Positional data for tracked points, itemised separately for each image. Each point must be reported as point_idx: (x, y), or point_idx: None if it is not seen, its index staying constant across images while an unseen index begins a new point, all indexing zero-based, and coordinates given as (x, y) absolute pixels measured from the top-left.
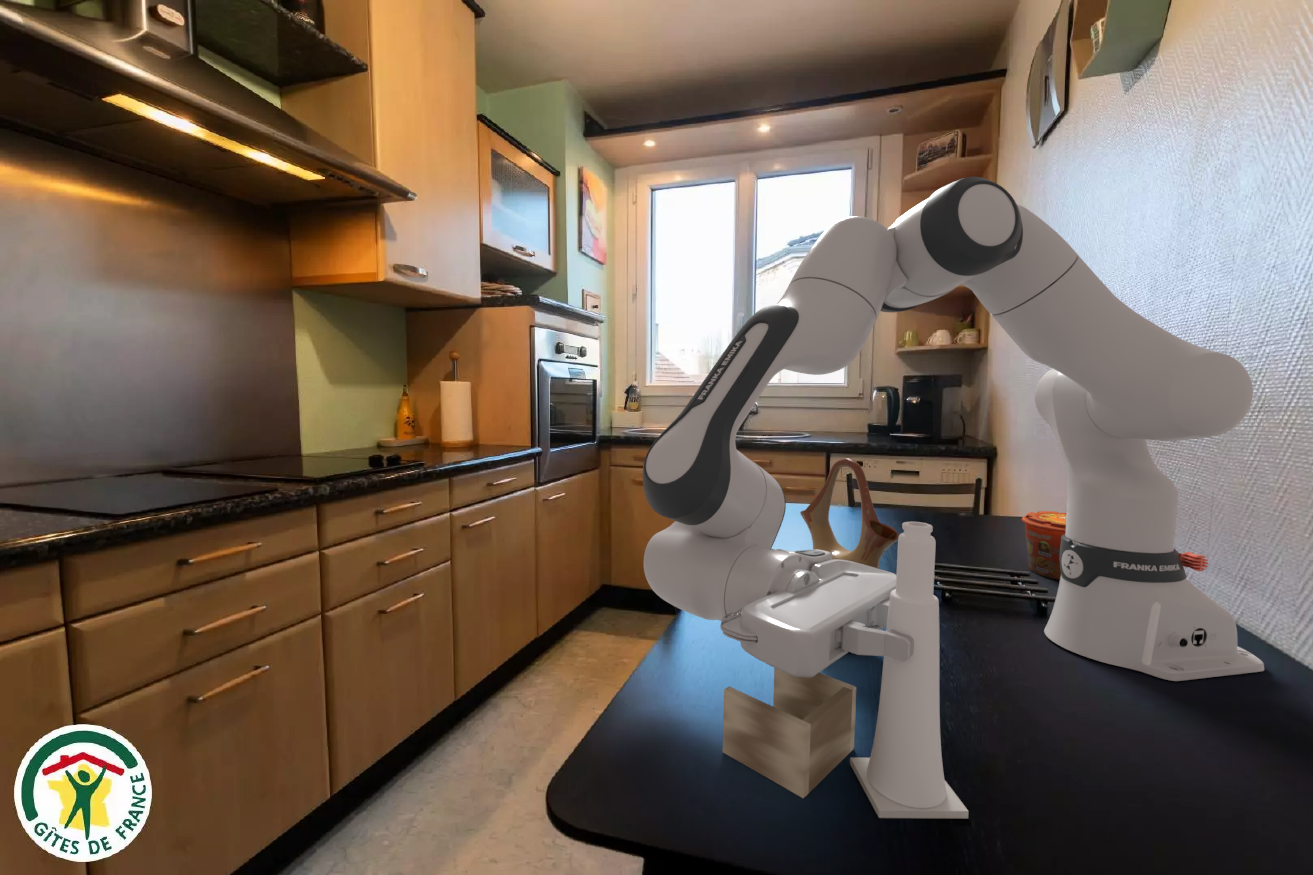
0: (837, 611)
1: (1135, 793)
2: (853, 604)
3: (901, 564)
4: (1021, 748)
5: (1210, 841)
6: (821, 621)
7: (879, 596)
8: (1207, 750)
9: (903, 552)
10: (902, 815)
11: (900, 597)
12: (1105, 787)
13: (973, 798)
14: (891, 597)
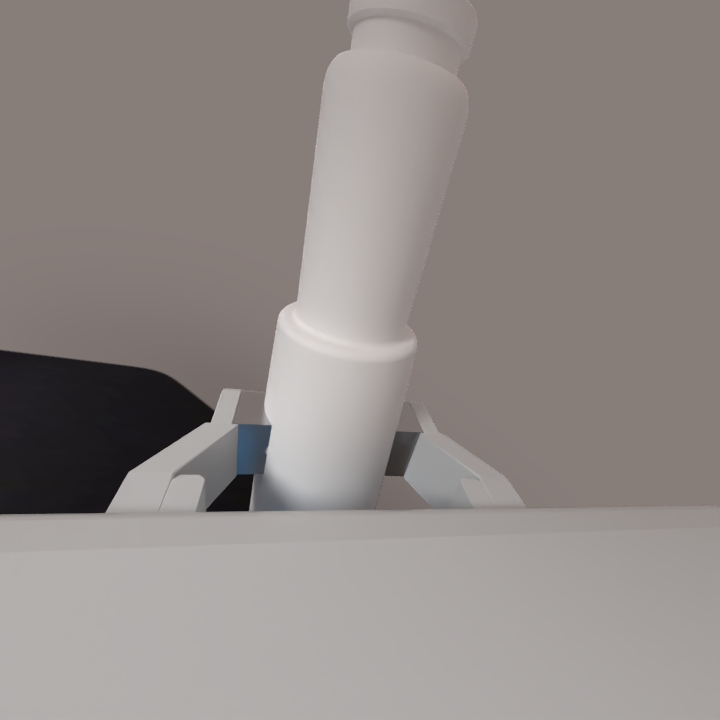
0: (565, 537)
1: (108, 431)
2: (432, 533)
3: (435, 225)
4: None
5: (167, 399)
6: (677, 529)
7: (179, 513)
8: None
9: (451, 170)
10: None
11: (407, 338)
12: (109, 450)
13: None
14: (406, 361)
